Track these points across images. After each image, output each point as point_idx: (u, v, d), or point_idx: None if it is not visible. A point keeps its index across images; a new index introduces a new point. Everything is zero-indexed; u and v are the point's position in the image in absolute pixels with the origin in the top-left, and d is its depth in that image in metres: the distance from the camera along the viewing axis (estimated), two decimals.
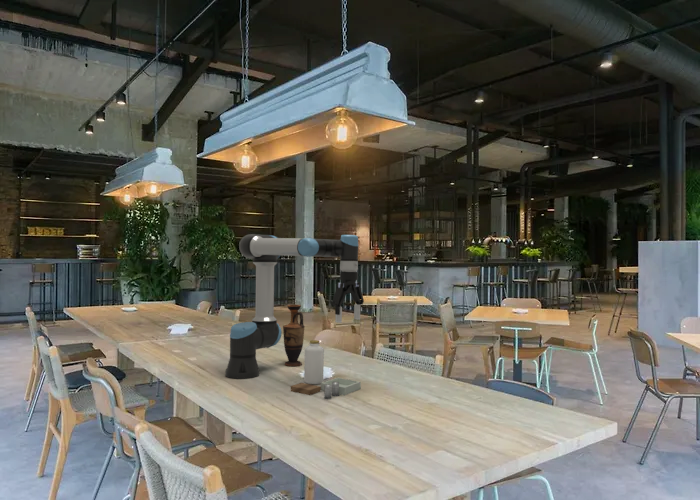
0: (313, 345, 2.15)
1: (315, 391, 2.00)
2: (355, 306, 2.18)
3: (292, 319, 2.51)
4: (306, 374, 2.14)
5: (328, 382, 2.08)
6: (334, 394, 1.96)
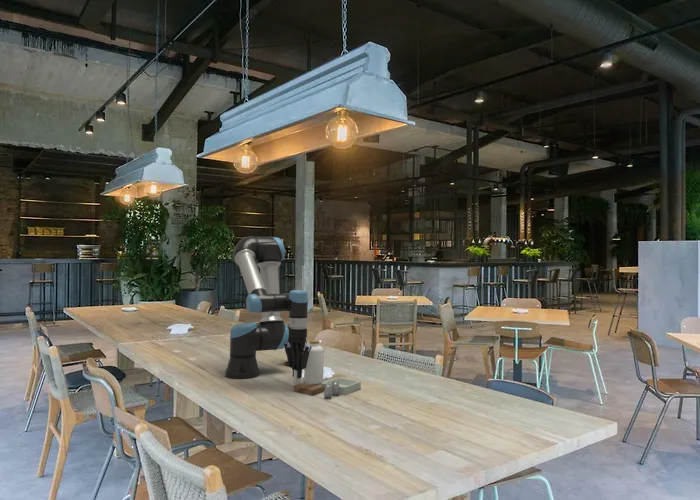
0: (313, 345, 2.15)
1: (318, 391, 1.99)
2: None
3: None
4: (306, 374, 2.14)
5: (328, 382, 2.08)
6: (334, 394, 1.96)
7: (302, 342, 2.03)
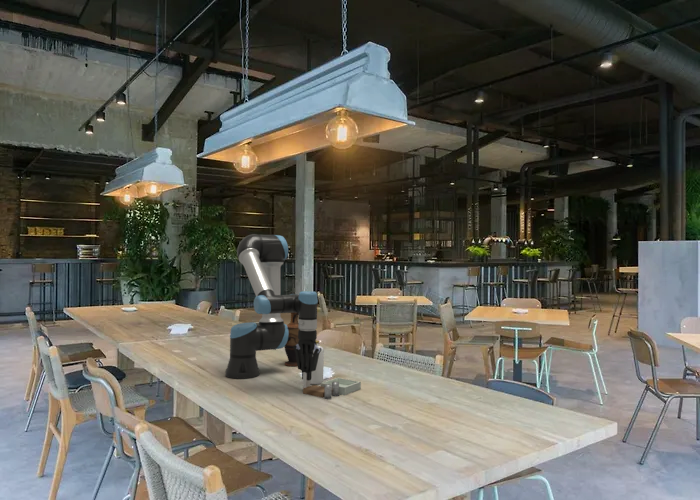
0: None
1: None
2: None
3: (292, 319, 2.51)
4: None
5: (328, 382, 2.08)
6: (334, 394, 1.96)
7: (312, 344, 2.00)
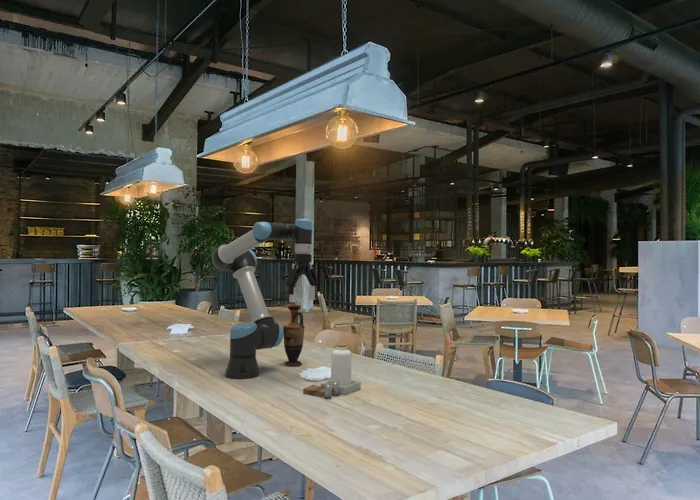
0: (340, 349, 2.05)
1: None
2: (310, 287, 2.29)
3: (292, 319, 2.51)
4: (333, 379, 2.04)
5: (328, 382, 2.08)
6: (334, 394, 1.96)
7: (309, 265, 2.25)
